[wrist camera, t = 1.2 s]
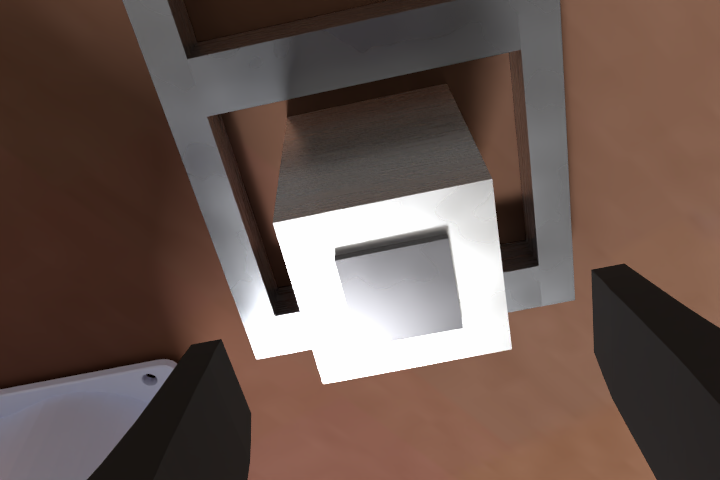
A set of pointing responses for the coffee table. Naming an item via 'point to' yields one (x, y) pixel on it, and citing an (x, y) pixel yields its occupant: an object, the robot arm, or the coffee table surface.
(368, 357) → the block
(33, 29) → the coffee table surface
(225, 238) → the yellow grey ladder frame
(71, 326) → the coffee table surface
